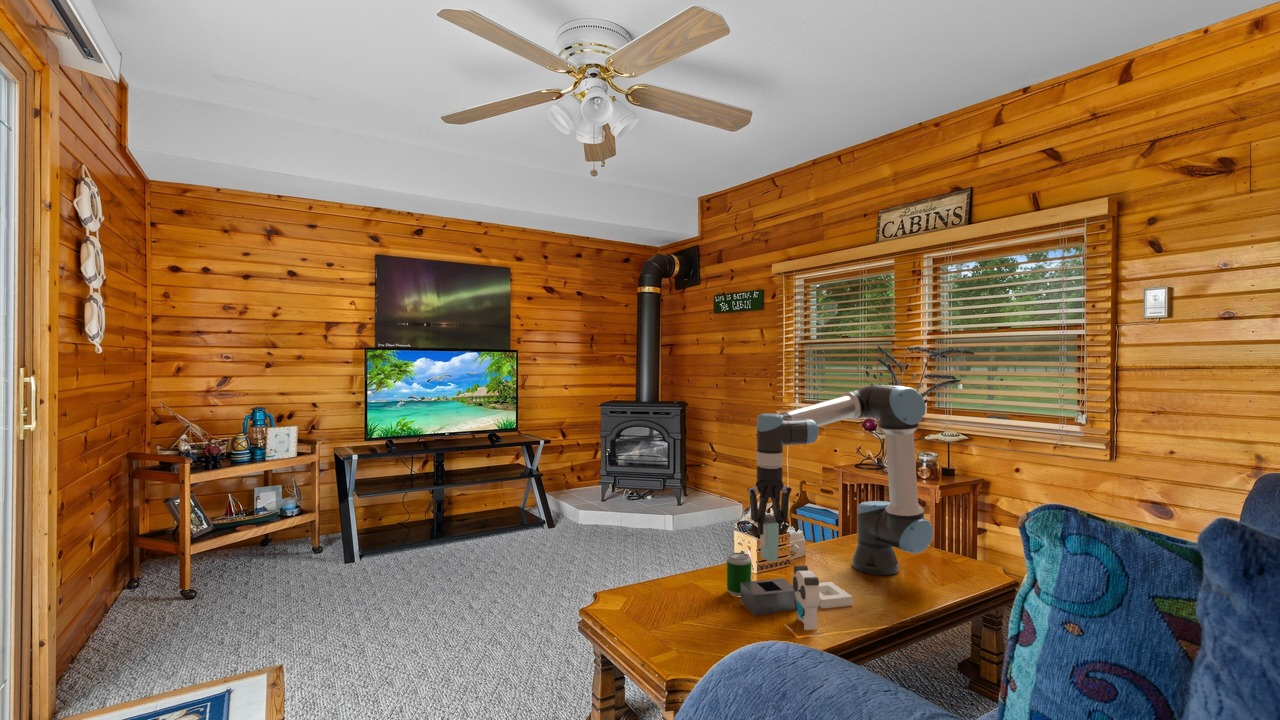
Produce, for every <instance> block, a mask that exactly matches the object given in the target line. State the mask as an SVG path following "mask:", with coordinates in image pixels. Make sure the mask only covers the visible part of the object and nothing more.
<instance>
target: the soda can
mask: <svg viewBox="0 0 1280 720" xmlns="http://www.w3.org/2000/svg"><path fill="white" fill-rule="evenodd" d="M748 581H752V558H751V557H750V556H749V555H748V553H743V552H733V553H730V554H729V556H728V557H726V590H727V592H728V594H729V595H730V594H732V595H735V596H741V582H748ZM732 595H731V596H732Z"/></svg>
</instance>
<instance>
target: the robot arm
mask: <svg viewBox="0 0 1280 720" xmlns="http://www.w3.org/2000/svg"><path fill="white" fill-rule="evenodd" d="M925 414H926V403H925V400H924V397H923V396H922V394H921V393H920V392H918V390H917V389H914V388H912V387H908V386H904V385H890V384H887V385H886V384H872V385H868V386H863V387H860V388H859V387H858V388H856V389H853V390H850V391H846V392H844V393H843V394H842V395H841V396H839V397H835V398H831V399H828V400H825V401H820V402H817V403H816V402H815V403H813V404H809V405H806V406H802V407H799V408H795V409H791V410H788V411H787V410H786V411H784V412H779V413H761V414H759V415H757V419H756V465H757V467H756V482H755V484H754V485H755V486H753V487H751V488H750V487H748V488H747V493H748V496H749V503H750V506H749V507H750V519H751V521H753V522H755V523H757V532H756V533H757V534H758V535H759V544H760V546H761V545H762V546H764V547H766V524H765V523H764V519H765V514H767V513H766V511H767V506H768V502H769V499H771V504H772V510H773V516H774V517H776V522H777V523H778V540H780V539H779V537H780V536H779V534H781V533H782V525H783V524H784V522H786V521H787V520H788V518H789V517H788V516H789V503H790V495H791V492H792V490H793V489H792V488H791V487H789V486H787V485H785V484H784V482H783V475H784V474H783V472H784V471H783V467H782V466H783V464H784V463H783V461H784V459H783V457H784V455H783V454H784V452H783V451H784V446H790V445H791V446H793V445H804V446H805V445H808V444H814V443H815V442H816V441H817V439H818V437H819V427H822V426H826V425H828V424H832V423H836V422H839V421H840V422H841V421H843V420H846V419H849V420H858V419H873V420H874V419H875V420H878V421H879V429H880V430H882V432H884V435H885V436H884V437H885V451H886V453H885V454H886V465H887V467H886V468H887V482H888V491H889V492H888V495H889V501H884V500H883V501H882V500H873V501H872V500H871V501H864V502H861V503H859V504H858V507H857V513H856V519H857V520H856V521H857V523H856V524H857V545H856V547H855V551H854V553H853V556H852V561H851V564H852V567H853V569H855V570H857V571H859V572H861V573H865V574H869V575H875V576H891V575H896V574H897V573H898V572H899V562H898V559H897V554H896V552H895V549H894V548H897V549H899V550H901V551H903V552H907V553H910V554H920V553H922V552H924V551H925V550H927V548H928V547H929V546H930V545H931V543H932V541H933V537H934V528H933V524H932V523H931V522H930V521H929V520H927V519H925V510H924V508H923V507H922V506H920V505H919V495H918V481H917V478H918V477H917V466H916V465H917V464H916V462H917V461H916V451H915V436H914V435H915V431H916V430H918V428H919V423H920V422H922V420H923V419H924V416H925ZM781 492H782V493H781ZM758 493H759V505H758V497H757V494H758ZM780 493H781V501H780Z"/></svg>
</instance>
